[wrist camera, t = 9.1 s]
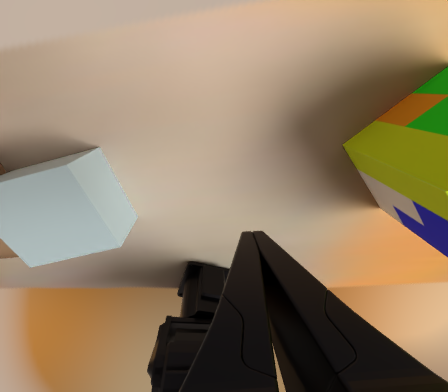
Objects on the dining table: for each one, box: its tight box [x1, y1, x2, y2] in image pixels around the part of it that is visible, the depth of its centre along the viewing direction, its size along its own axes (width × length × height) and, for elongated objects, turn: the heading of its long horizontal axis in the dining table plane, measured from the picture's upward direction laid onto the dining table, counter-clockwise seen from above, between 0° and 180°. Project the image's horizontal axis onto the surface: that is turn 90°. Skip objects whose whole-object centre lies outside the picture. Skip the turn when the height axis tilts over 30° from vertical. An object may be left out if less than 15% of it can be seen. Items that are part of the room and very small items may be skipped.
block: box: [0, 147, 138, 268], centre depth 19 cm, size 8×9×5 cm
